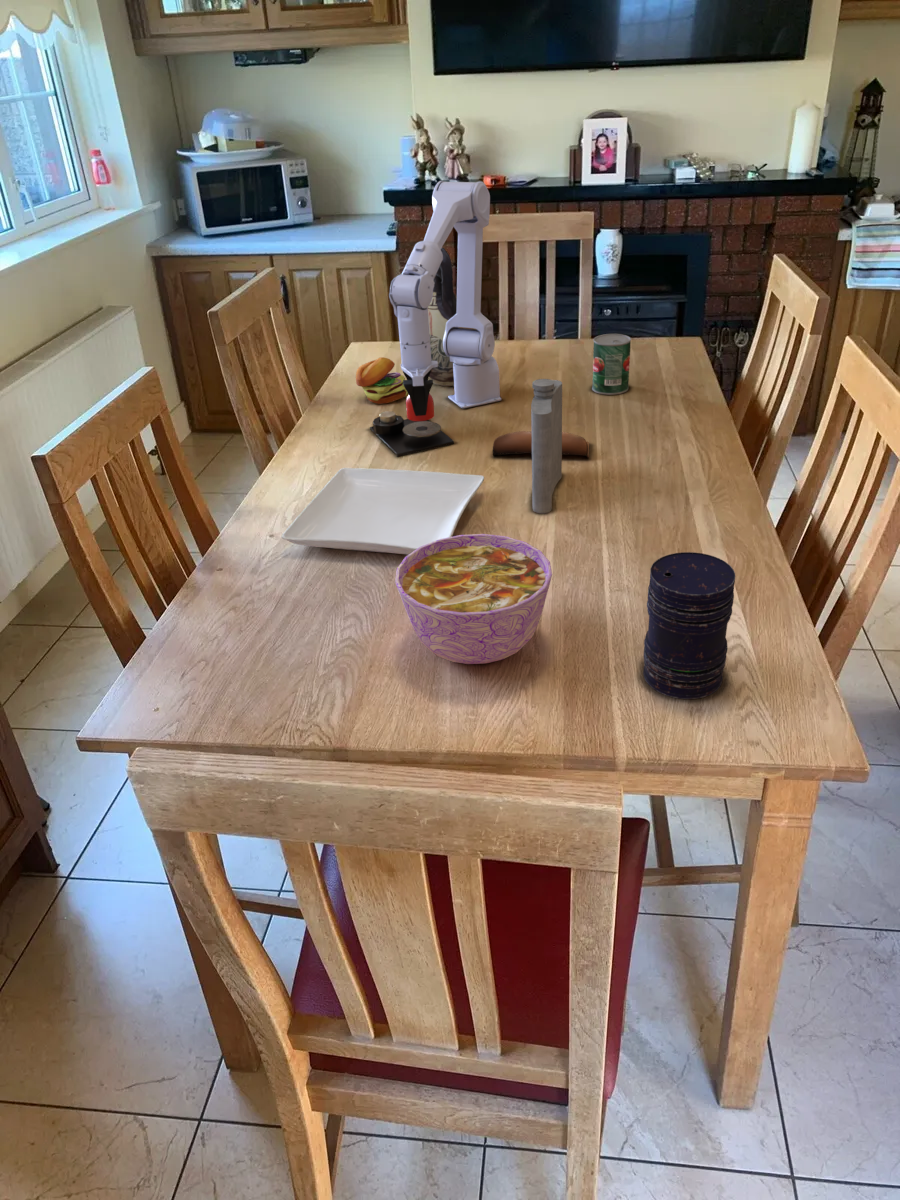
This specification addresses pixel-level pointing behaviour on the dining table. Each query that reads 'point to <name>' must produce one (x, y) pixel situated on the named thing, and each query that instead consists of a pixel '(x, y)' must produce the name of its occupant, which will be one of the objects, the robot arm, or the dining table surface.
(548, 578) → the bowl of food
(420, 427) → the burner
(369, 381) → the cheeseburger
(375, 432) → the hob
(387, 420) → the hob button
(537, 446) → the hip flask
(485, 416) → the dining table surface
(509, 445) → the sunglasses case
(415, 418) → the pepper
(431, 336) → the ceramic jug
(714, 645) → the storage jar
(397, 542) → the square plate
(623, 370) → the canned tomato
